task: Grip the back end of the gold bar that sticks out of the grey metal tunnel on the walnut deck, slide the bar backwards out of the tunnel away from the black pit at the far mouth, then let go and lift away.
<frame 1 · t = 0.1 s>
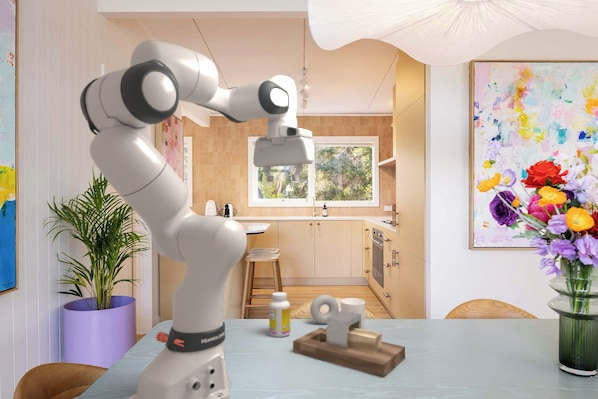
hand: (282, 181, 112), 48 cm above the table, tool pointing down, fingers open, 8 cm apart
donut: (324, 324, 132), on the table
white cup: (352, 332, 123), on the table
supplement bottle: (279, 334, 122), on the table
deck: (347, 354, 105), on the table
gold bar: (353, 345, 104), point 3 cm above the table, touching deck
tunnel: (344, 354, 106), resting on deck
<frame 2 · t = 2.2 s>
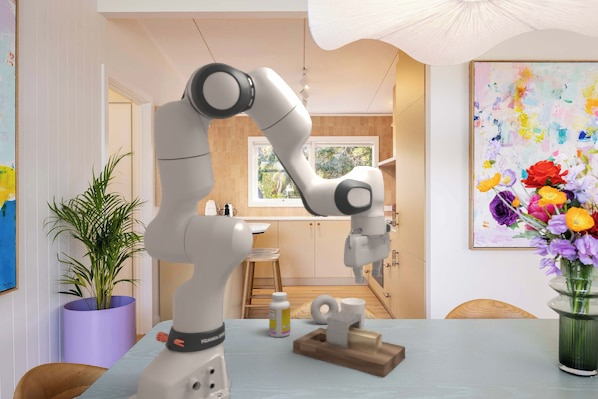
hand: (368, 279, 102), 21 cm above the table, tool pointing down, fingers open, 8 cm apart
nothing on the table moved.
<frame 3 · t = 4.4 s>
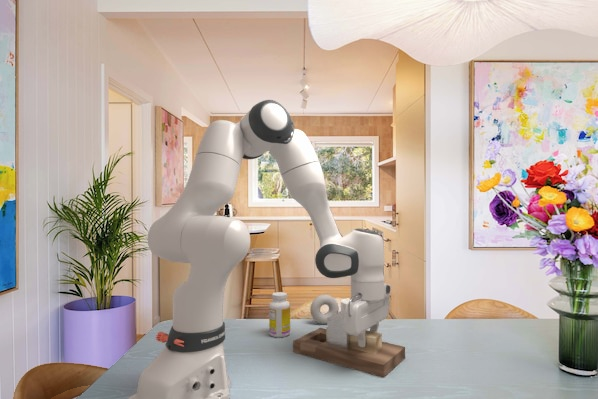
hand: (367, 342, 102), 5 cm above the table, tool pointing down, fingers closed on gold bar, 4 cm apart
gold bar: (353, 345, 104), point 3 cm above the table, touching deck, gripper
everything else where it was.
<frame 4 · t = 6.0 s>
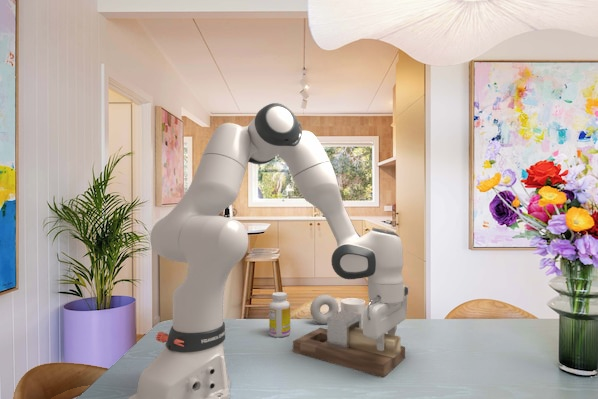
hand: (385, 346, 99), 5 cm above the table, tool pointing down, fingers closed on gold bar, 4 cm apart
gold bar: (370, 348, 102), point 3 cm above the table, touching gripper
everything else where it was.
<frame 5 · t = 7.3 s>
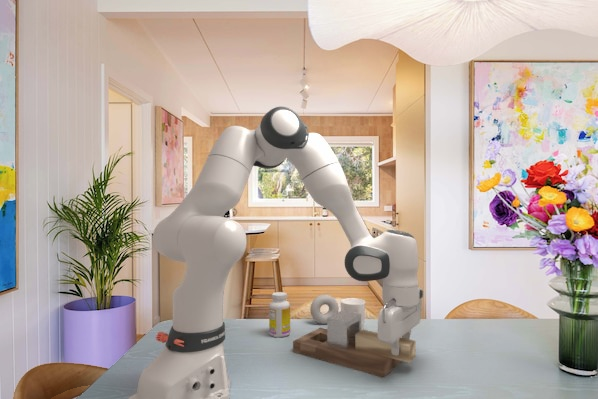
hand: (400, 350, 97), 5 cm above the table, tool pointing down, fingers closed on gold bar, 4 cm apart
gold bar: (384, 352, 99), point 3 cm above the table, touching deck, gripper
everything else where it was.
when the fingers open (5 cm above the table, at t = 8.0 s): gold bar stays where it is, resting on deck.
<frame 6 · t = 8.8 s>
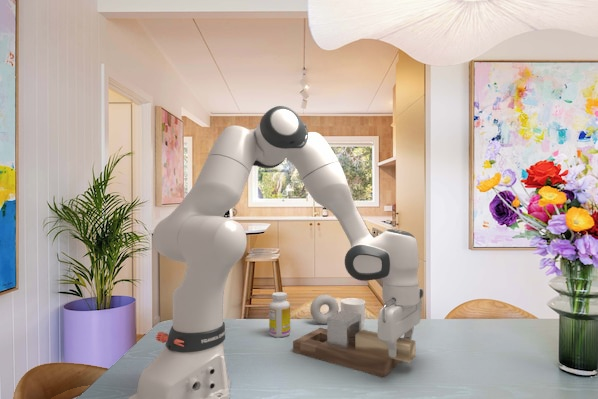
hand: (400, 349, 96), 5 cm above the table, tool pointing down, fingers open, 8 cm apart
gold bar: (384, 352, 99), point 3 cm above the table, touching deck
everything else where it was.
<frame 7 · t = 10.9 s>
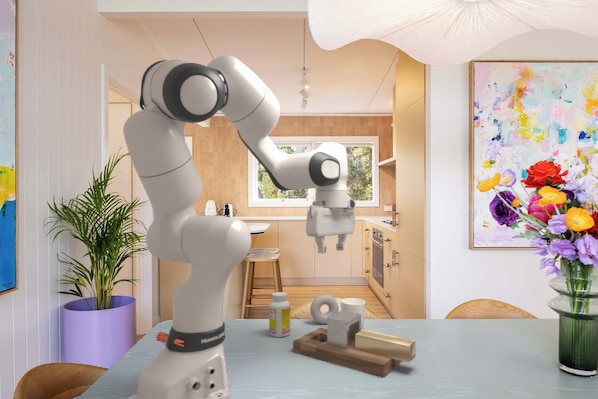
hand: (331, 251, 107), 28 cm above the table, tool pointing down, fingers open, 8 cm apart
nothing on the table moved.
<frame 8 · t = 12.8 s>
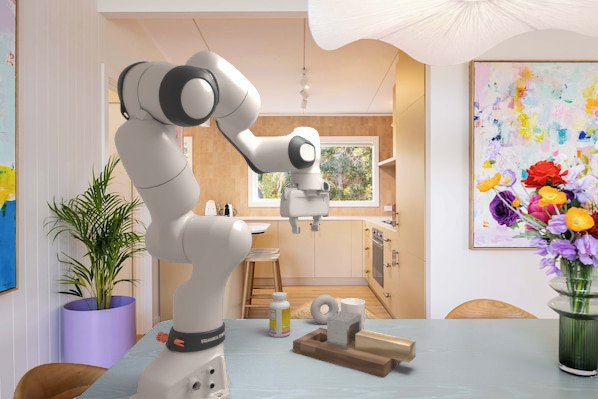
hand: (305, 232, 111), 33 cm above the table, tool pointing down, fingers open, 8 cm apart
nothing on the table moved.
at the end: gold bar 0.8 cm from the target spot, point 3.0 cm above the table; gold bar tilted 0°; the gripper is holding nothing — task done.
